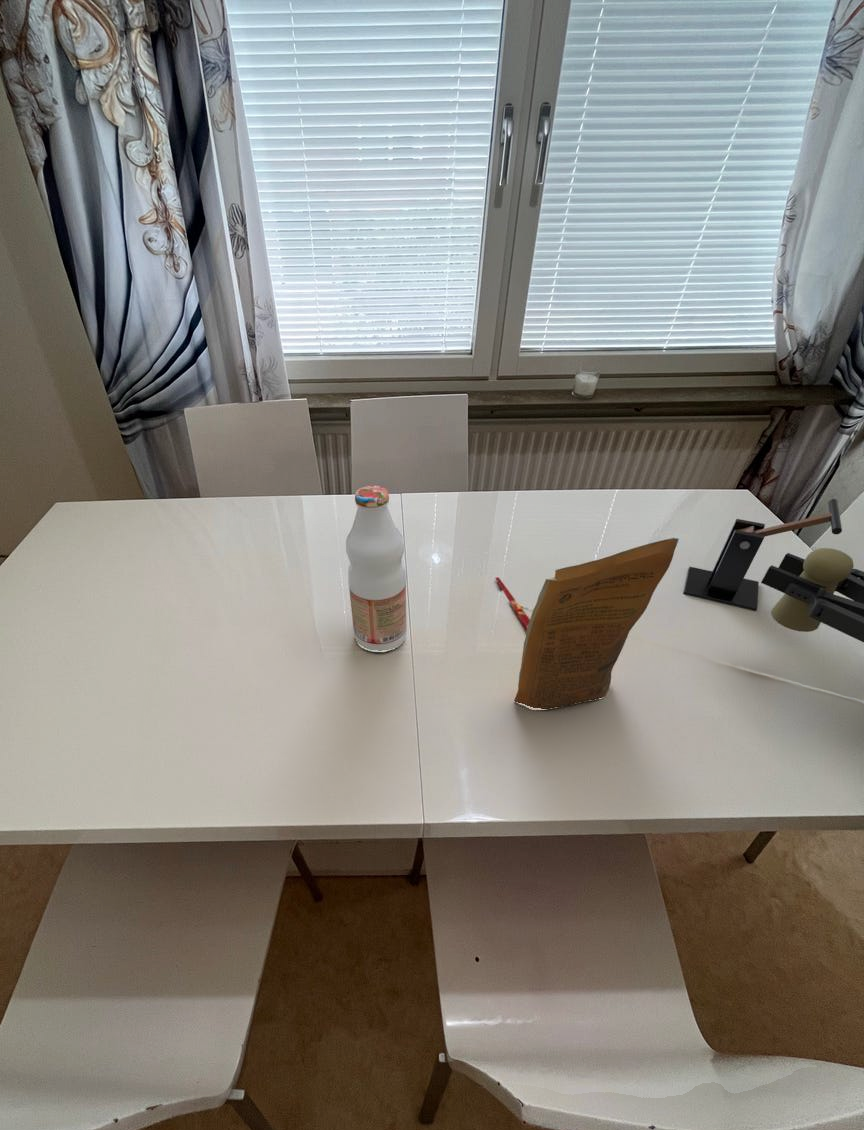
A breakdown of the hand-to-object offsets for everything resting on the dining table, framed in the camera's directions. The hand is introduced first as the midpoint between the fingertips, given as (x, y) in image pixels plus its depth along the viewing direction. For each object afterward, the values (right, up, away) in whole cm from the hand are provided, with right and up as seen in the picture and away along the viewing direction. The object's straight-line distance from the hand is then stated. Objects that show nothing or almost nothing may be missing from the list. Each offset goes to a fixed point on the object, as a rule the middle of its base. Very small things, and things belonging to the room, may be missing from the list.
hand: (774, 567), depth 76 cm
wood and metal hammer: (+12, +7, +13) cm, 19 cm away
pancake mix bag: (-28, -20, +7) cm, 35 cm away
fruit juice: (-57, -10, +19) cm, 61 cm away
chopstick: (-31, -6, +21) cm, 38 cm away
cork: (+4, -7, +1) cm, 8 cm away
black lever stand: (+7, -1, +24) cm, 25 cm away
